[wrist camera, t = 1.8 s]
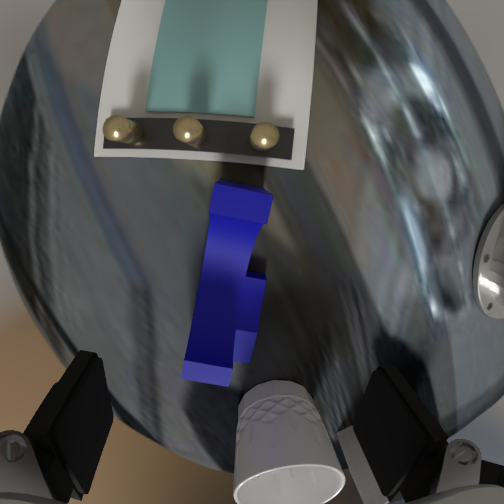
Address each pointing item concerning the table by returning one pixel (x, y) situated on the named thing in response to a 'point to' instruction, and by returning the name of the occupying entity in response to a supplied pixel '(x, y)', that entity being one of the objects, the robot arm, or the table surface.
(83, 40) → the table surface
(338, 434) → the grey box
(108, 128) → the coat peg rack
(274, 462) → the white cup
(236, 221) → the blue curved stepped piece
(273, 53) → the board
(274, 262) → the table surface
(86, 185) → the table surface
